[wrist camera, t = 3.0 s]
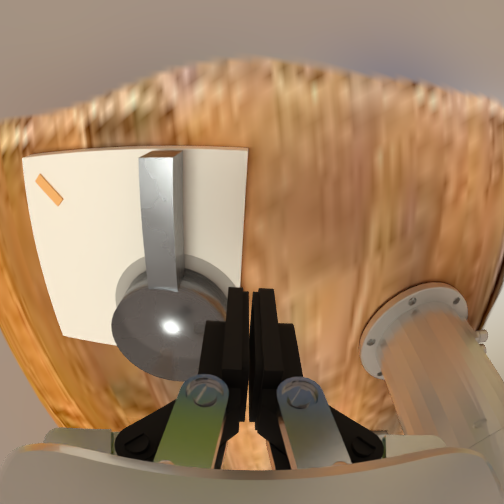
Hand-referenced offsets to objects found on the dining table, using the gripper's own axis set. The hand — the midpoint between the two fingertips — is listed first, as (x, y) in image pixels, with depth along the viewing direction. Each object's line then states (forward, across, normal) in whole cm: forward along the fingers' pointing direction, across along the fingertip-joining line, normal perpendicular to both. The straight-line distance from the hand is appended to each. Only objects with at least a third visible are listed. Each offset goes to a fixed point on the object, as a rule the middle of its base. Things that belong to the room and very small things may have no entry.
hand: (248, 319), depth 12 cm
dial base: (+12, +9, +4) cm, 16 cm away
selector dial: (+10, +5, +4) cm, 12 cm away
